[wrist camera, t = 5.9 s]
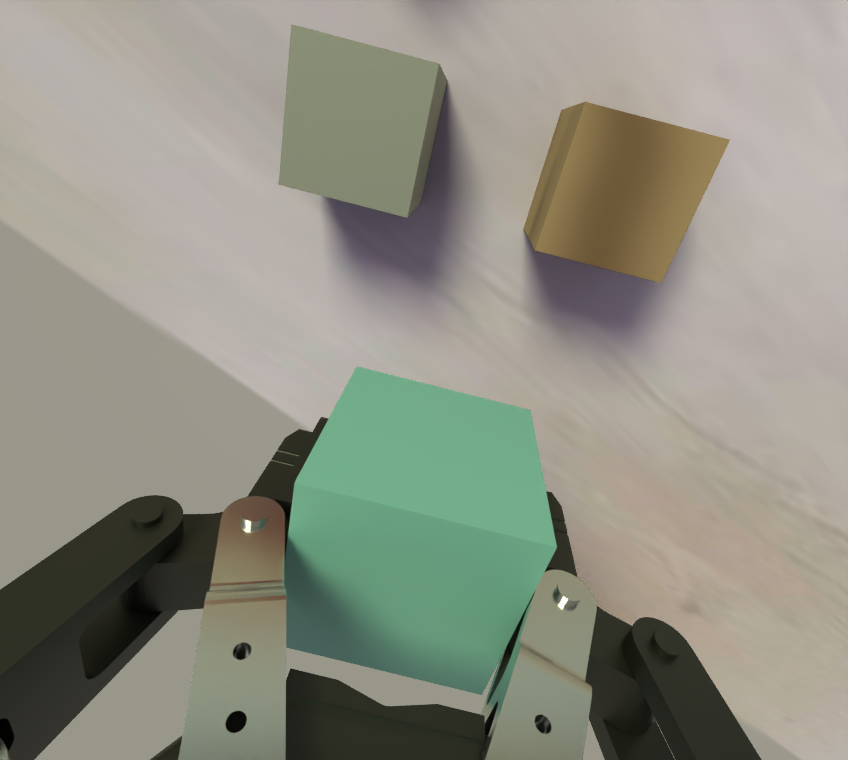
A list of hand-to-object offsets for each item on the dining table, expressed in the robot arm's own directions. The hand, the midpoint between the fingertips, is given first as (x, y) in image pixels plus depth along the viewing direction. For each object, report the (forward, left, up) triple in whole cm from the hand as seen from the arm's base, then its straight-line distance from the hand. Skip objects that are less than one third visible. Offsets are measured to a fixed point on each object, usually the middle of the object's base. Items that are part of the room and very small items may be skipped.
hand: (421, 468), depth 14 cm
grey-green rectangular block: (+5, -8, -12) cm, 16 cm away
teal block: (0, 0, 0) cm, 0 cm away
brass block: (-5, -8, -12) cm, 16 cm away
